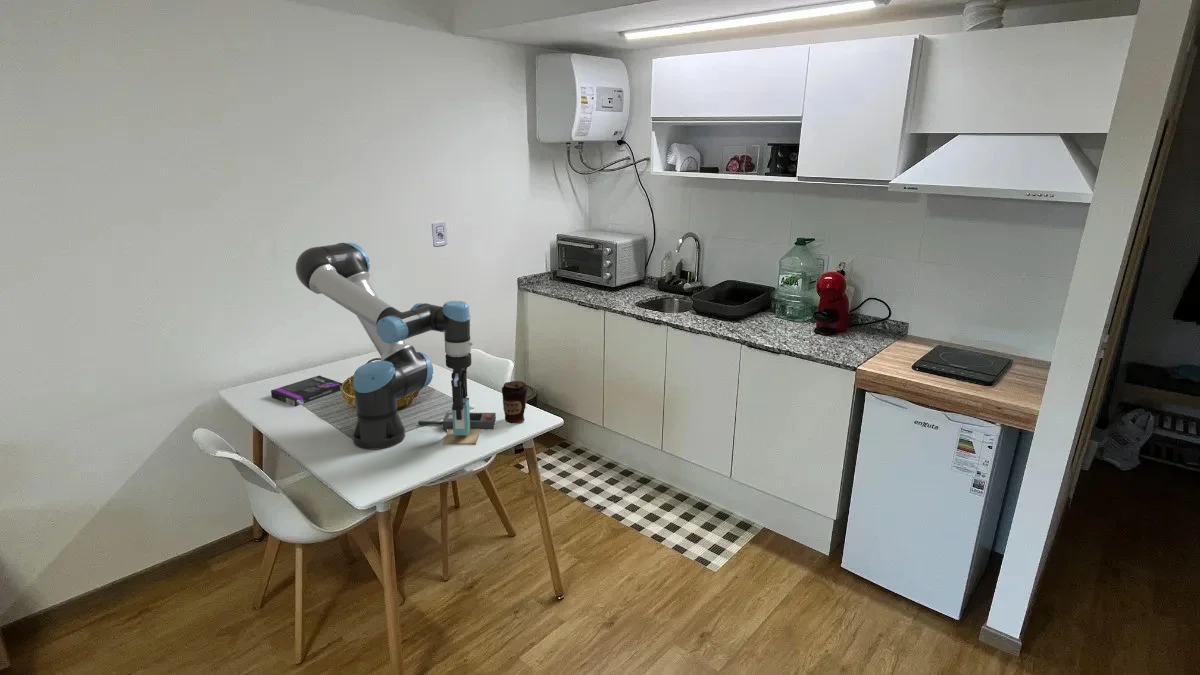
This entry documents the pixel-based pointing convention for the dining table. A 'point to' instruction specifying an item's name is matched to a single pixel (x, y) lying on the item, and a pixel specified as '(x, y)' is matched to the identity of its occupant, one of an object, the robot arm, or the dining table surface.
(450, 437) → the pad
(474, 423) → the strip
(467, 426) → the block
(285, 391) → the box
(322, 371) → the dining table surface
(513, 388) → the coffee cup
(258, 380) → the dining table surface
